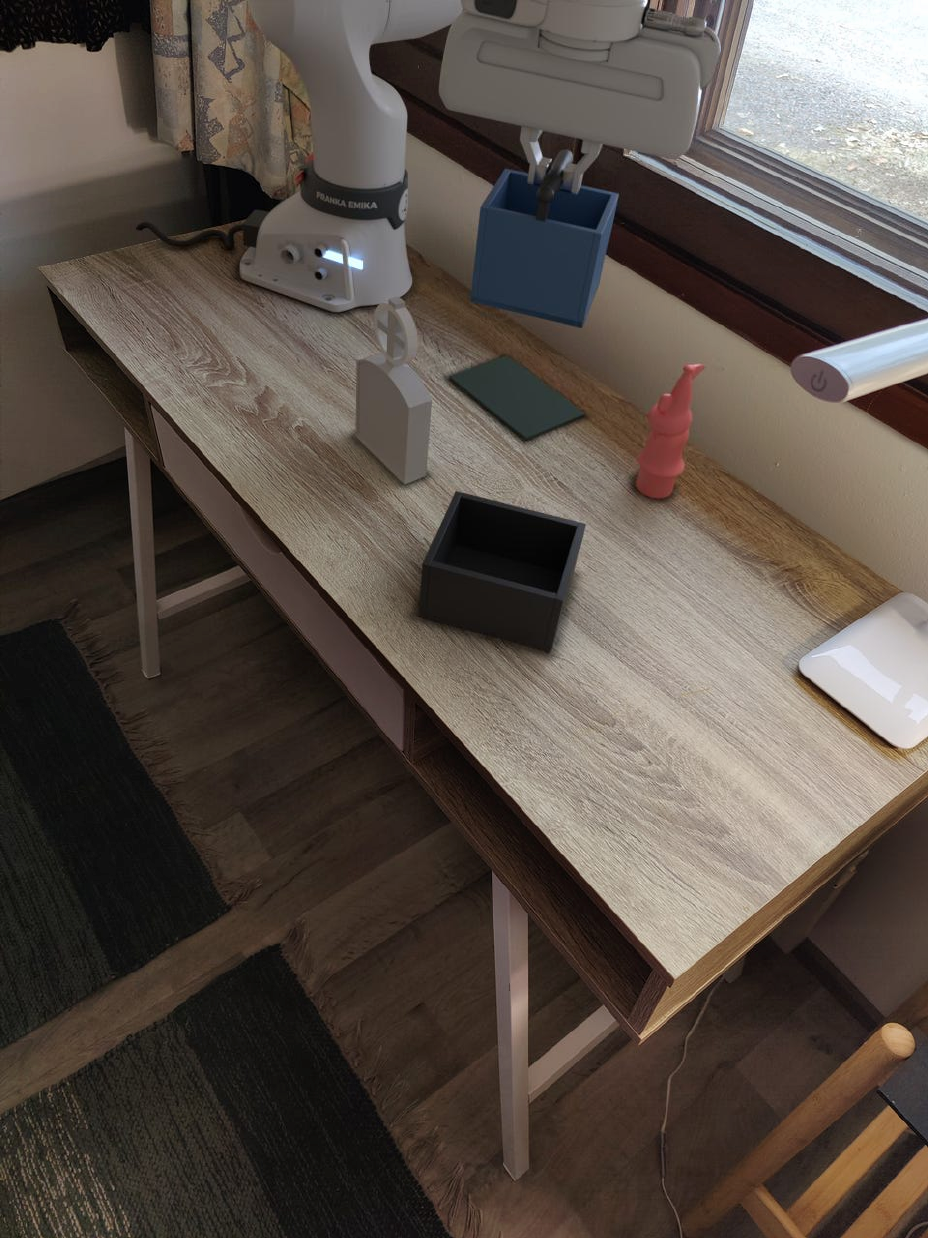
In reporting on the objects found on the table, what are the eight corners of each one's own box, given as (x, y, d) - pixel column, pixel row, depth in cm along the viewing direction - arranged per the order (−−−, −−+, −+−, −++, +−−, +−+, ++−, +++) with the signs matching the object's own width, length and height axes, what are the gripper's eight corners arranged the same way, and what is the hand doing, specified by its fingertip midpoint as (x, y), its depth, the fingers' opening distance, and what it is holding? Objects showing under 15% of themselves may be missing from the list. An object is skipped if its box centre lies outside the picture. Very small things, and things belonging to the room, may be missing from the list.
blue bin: (468, 303, 84) (482, 175, 76) (494, 258, 90) (510, 134, 82) (581, 330, 83) (608, 203, 74) (599, 282, 89) (626, 159, 80)
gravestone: (376, 428, 105) (381, 274, 91) (426, 475, 100) (438, 320, 87) (355, 436, 103) (357, 280, 90) (404, 484, 99) (413, 327, 85)
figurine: (648, 464, 105) (684, 343, 94) (686, 487, 103) (727, 366, 92) (620, 483, 102) (653, 360, 91) (658, 507, 100) (697, 385, 89)
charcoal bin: (417, 616, 86) (422, 563, 81) (449, 543, 93) (455, 490, 88) (550, 652, 85) (563, 601, 80) (573, 575, 92) (586, 523, 87)
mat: (448, 378, 112) (449, 375, 112) (506, 357, 117) (507, 354, 116) (525, 441, 106) (526, 438, 105) (584, 416, 110) (585, 413, 110)
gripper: (732, 11, 70) (681, 198, 80) (465, -43, 72) (448, 146, 82) (723, 37, 66) (671, 230, 76) (440, -22, 68) (426, 174, 78)
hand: (553, 186), depth 79 cm, fingers closed on blue bin
